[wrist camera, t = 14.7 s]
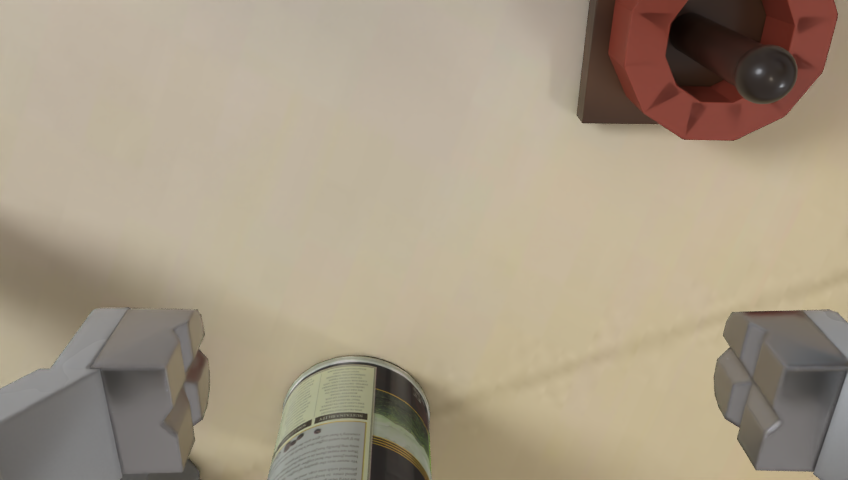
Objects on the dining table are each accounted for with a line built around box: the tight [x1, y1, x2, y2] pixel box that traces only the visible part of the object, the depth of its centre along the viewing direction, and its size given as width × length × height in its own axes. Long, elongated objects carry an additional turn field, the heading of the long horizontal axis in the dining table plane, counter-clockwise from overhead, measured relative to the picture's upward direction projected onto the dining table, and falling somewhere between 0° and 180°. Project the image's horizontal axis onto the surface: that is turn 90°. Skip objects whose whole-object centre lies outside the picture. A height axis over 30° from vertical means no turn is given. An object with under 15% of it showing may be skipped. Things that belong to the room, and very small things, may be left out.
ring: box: [608, 0, 838, 141], centre depth 37 cm, size 10×10×3 cm
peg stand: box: [577, 0, 798, 124], centre depth 35 cm, size 10×10×12 cm
